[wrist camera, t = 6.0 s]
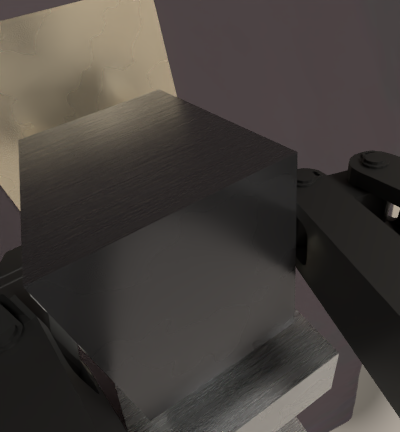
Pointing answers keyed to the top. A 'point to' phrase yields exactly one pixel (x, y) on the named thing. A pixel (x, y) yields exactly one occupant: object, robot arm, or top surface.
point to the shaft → (160, 241)
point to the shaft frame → (104, 98)
